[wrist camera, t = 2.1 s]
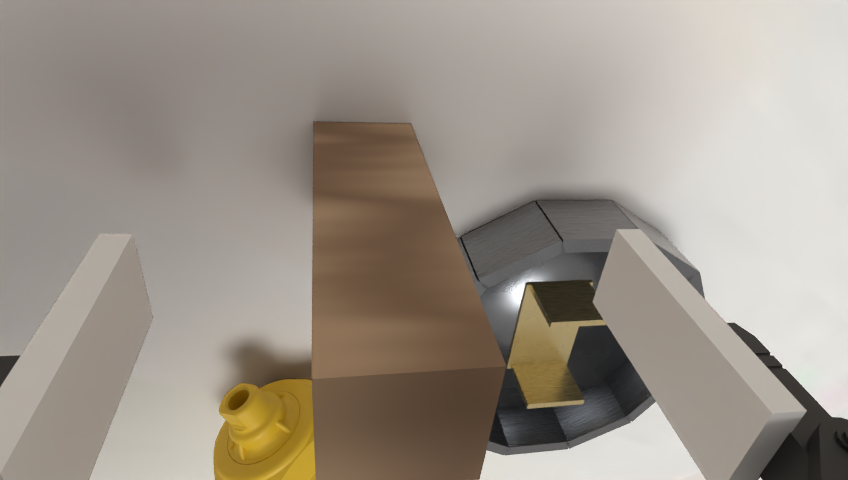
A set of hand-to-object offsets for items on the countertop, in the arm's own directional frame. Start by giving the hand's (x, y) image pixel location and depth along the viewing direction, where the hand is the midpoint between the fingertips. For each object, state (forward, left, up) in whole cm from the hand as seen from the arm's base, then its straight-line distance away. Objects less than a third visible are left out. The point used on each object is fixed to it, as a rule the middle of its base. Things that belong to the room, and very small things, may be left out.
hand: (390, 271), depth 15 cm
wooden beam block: (0, 0, -7) cm, 7 cm away
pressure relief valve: (0, -12, -7) cm, 14 cm away
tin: (+9, -8, -7) cm, 13 cm away
